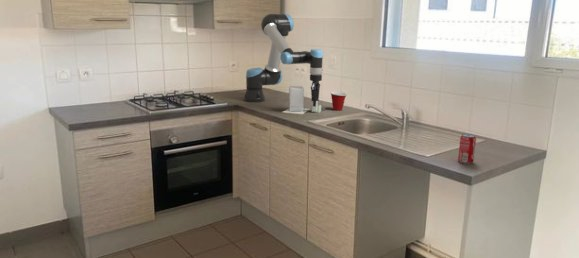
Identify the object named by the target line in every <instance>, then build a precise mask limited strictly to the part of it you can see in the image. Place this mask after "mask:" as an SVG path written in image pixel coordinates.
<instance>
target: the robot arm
mask: <svg viewBox="0 0 579 258" xmlns="http://www.w3.org/2000/svg"><path fill="white" fill-rule="evenodd" d="M260 27H261V30H262V32H263V33H264V34H265V36H268V38H269V39H270V41H271V45H270V51H269V55H268V61H267V64H265V65H264V69H263V68H262V67H253V68H249V69H246V74H245V78H246V83H245V84H246V87H245V88H246V90H245V94H244V97H243V101H244V102H249V103H262V102H264V101H265V100H266V99H265V98H266V96H265V94H264V91H263V86H275V85H279V84H280V83H281V82H282V79H283V71H282V69H281V67H280V64H281V63H282V64H283V65H299V64H309V65H310V66H309V80H310V81H312V82H311V86H310V90H311V91H310V94H311V97H310V98H311V100H310V101H311V102H312V105H313V109H312V108H311V112H312V111H317V105H318V102H319V100H320V89H321V84H320V81H322V77H323V75H322V73H323V57H324V56H323V50H322V49H319V48H311V49H310V51H307V50H304V51H303V50H302V51H294V50H293V49H292V48H291V46H290V45H289V44H288V42H287V41H286V37H288V36H289V33H290V32H292V31H293V29H294V27H295V26H294V20H293V17H292V16H291V15H290V14H286V13H268V14H267V15H266V14H265V16H264V17H263V18H262V20H261V23H260Z"/></svg>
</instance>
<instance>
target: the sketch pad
mask: <svg viewBox="0 0 579 258" xmlns="http://www.w3.org/2000/svg"><path fill="white" fill-rule="evenodd" d="M310 110H311V109H310V108H304V107H303V111H290V110H289V108H287V109H285V110H284V111H283V110H282V113H283V114H295V115H304V113H307V112H308V111H310Z"/></svg>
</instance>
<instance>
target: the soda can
mask: <svg viewBox="0 0 579 258" xmlns="http://www.w3.org/2000/svg"><path fill="white" fill-rule="evenodd" d="M476 142H477V138H476V135H475V134H472V133H462V134H461V136H460V138H459V148H458V156H457V160H458V161H459V163H461V164H467V165H468V164H472V163H473V162H474V160H475V152H476Z"/></svg>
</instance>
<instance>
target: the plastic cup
mask: <svg viewBox="0 0 579 258" xmlns="http://www.w3.org/2000/svg"><path fill="white" fill-rule="evenodd" d="M346 96H347V93H345V92H342V91H341V92H339V91H330V97H331V104H332V110H333V111H336V112H338V111H339V112H341V111H343V108H344V103H345V100H346Z"/></svg>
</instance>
